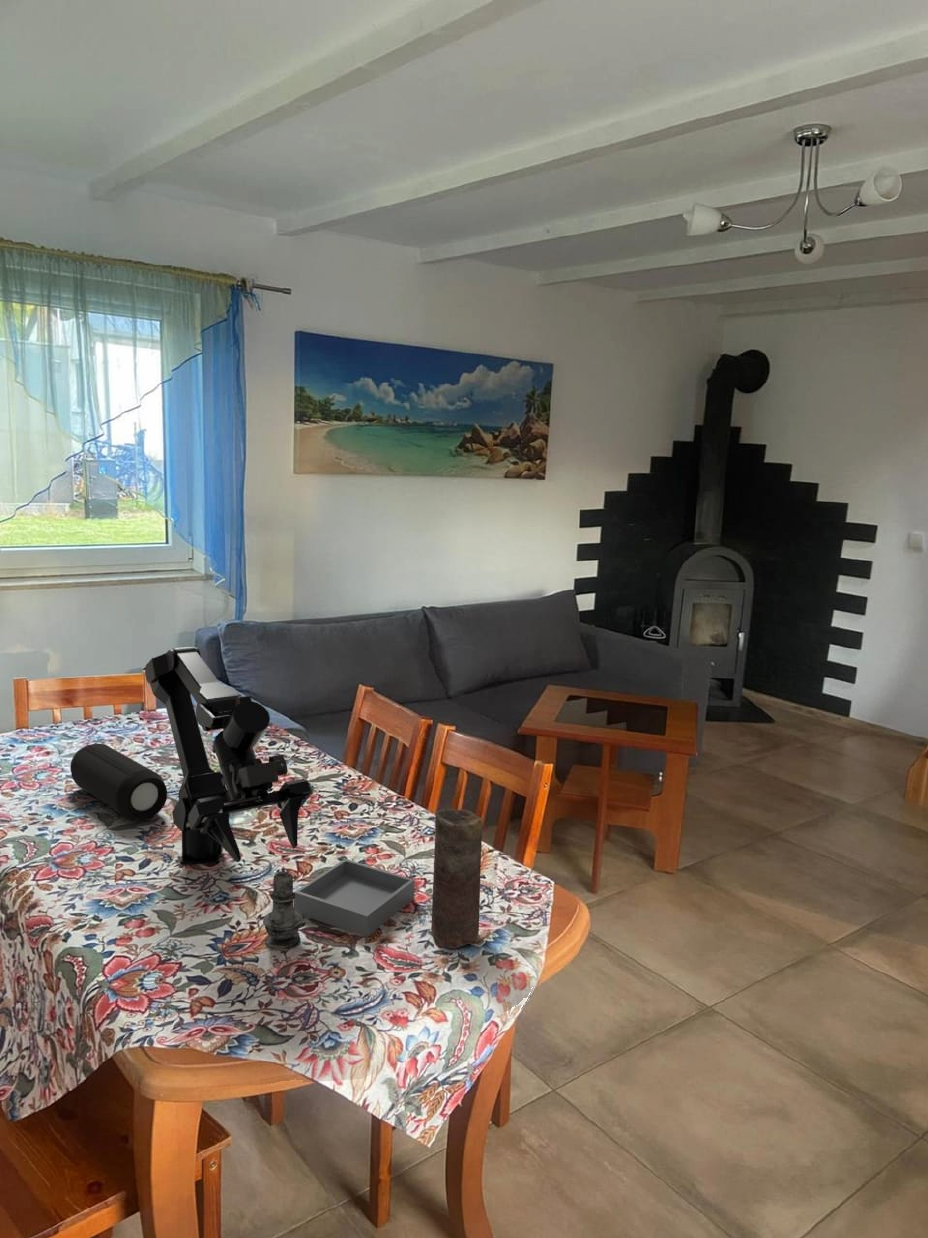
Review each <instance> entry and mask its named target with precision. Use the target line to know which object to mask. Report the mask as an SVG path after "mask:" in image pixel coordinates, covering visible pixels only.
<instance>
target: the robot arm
mask: <svg viewBox="0 0 928 1238" xmlns="http://www.w3.org/2000/svg"><path fill="white" fill-rule="evenodd" d="M200 652H201V651H200V650H199V648H198V647H194V646H184V647H182V646H181V647H173V648H172V649H169V650H168V651H166V652H165V653H162V654H160V655H158V656H156V657H152V658H151V659H150V660H149V661H148V662H147V663H146V665H145V668H144V674H145V675H144V676H145V681H146V682H147V684H149V686H150V689H151V692H152V694H153V696H154V697H156V698H157V699H158V700H159V701H160V703H163V705H164V706H165V709H166V713H167V717H168V721H169V725H170V729H171V733H172V737H173V741H174V743H175V744H174V745H175V748H176V753H177V756H178V761H179V764H180V768H181V772H182V775H183V780H182V783H181V785H180V788H179V791H178V794H177V795H178V800H177V803H176V804H175V806H174V808H173V809H172V812H171V813H172V814H171V815H172V820H173V824H174V825H175V826H176V828H177V829H179V831H180V832H181V857H180V859H179V863H180V864H197V863H198V864H201V863H202V864H204V863H205V864H210V863H211V864H212V863H213V864H214V863H218V862H219V859H220V856H221V855H222V854H223V851H224V850H225V851H226V852H227V853H228V854H229V856H230V857H231V858H232V859H233V860H234V861H235V862H236V863H240V862H241V860H242V856H241V851H240V849H239V846H238V843H237V841H236V838H235V836H234V835H235V834H234V833H233V830H232V827H231V824H230V817H231V816H230V815H231V814H234V813H239V812H243V811H249V810H253V809H259V808H264V807H268V806H272V805H277V807H278V808H279V809H281V811H280V812H279V813H278V815H279V817H280V820H281V823H282V825H283V829H284V831H285V833H286V836H287V839H288V842H289V843H290V846H291V847H292V849H296V848H297V847H298V836H299V835H298V834H299V833H298V830H299V814H300V809H301V807H303V806H304V805H305V803H306V802H307V800H308V799H309V798H310V797H311V796H312V794H313V793H314V790H313V788H312V784H311V782H309V781H308V780H307V779H306V778H300V779H294V780H289V781H285V782H283V784H282V785H281V787H280V788H279V790H277V791H272V792H271V791H270V792H268V790H271V788H272V787H273V783H277V782H279V781H280V780H279V779H280V778H279V777H281V776H285V775H287V774H288V771H289V770H288V764H287V761H286V758H285V756H284V754H277V755H273V756H270V757H268V761H267V762H263V761H262V760H261V757H260V758H257V755H256V753H255V750H254V747H256V746H257V744H258V743H259V742H260V739H261V738H262V736H263V734H264V733H265V732H266V730H267V728H268V727H269V724H270V719H271V716H270V713H269V710H267V709H266V708H265V707H264V706H263V705H262V704H260V703H258V702H256V701H252V698H251V695H244V696H243V695H242V694H240V693H239V691H237V690H236V689H235V688H234V687H231V686H229V685H224V684H222V683H221V682H220V681H219V680H218V678H217V677H216V675H215V674H214V673H213V672H212V670H211V669H210V667H209V666H208V665H207V664H206V662H205V660H203V658H202V657H201V653H200ZM192 697H193V699H194V701H195V703H196V707H195V706H194V704H193V699H192ZM200 726H201V728H202V729H203V730H204V732H207V733H208V732H213V731H219V733H217V734H216V736H215V738H214V740H213V742H212V749H211V751H212V754H216V757H217V761H218V765H219V768H220V769H221V771H215V770H214V769H212V768H211V767H210V764H209V759H208V756H207V752H206V749H205V744H204V741H203V737H202V734H201V730H200Z"/></svg>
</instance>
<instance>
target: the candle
mask: <svg viewBox="0 0 928 1238" xmlns="http://www.w3.org/2000/svg"><path fill="white" fill-rule="evenodd" d="M434 817H435V823H434V851H433V852H434V853H433V855H434V856H433V875H432V877H433V879H432V880H433V882H432V902H431V925H430V926H431V928H430V929H431V931H430V933H431V936H432V939H433V941H434V942H433V943H435V945H437V946H439V947H441V948H450V949H458V948H460V947H462V946H466V945H469V944H473V943H474V942H475V941H476V940H477V938H478V936H479V932H480V931H479V930H480V913H481V912H480V905H481V904H480V903H481V901H480V900H481V899H480V898H481V870H482V869H481V867H482V840H483V819H482V818H481V817H480V816H477V815H476V814H475V813H474V812H472V811H470V810H468V809H458V808H456V809H455V808H442V809H439V810H438V811H437V812H436V813H435V816H434Z"/></svg>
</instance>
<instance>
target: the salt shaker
mask: <svg viewBox="0 0 928 1238" xmlns="http://www.w3.org/2000/svg"><path fill="white" fill-rule="evenodd" d="M280 870H281V871H278V872H277V873H275V874H274V876H273V879H272V880H273V888H272V889H273V892H272V893H271V894H270V899H271V900H272V910H271V911H270V912H268V913H267V914H266V915H265V916H264V917H263V919H262V924H263V926H264V928H265V930H266V932H267V933H266V934H267V935H268V936H267V937H266V938H265V939H264V945H265V947H266V948H268V949H270V950H271V951H275V952H276V951H277V952H283V951H284V952H285V951H289V950H292V949H295V948H296V947H298V946H299V945H300V944H301V937H300V935H299V934H298V932H299V930H300V927H301V926H302V925H301V924H302V923H303V920H304V916H303V915H301V914H300V913H299V912H296V911H294V898H295V893H294V892H295V891H294V876H293V874H292V873H291V872H289V871H286V870H287V869H286V868H285V866H282V867H281V869H280Z"/></svg>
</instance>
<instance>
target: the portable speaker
mask: <svg viewBox="0 0 928 1238" xmlns="http://www.w3.org/2000/svg"><path fill="white" fill-rule="evenodd" d="M69 767H70V772H71V778H72V779H73V782H74V783H75V784H76V785H77V786H78V787H79V788H81V789H82V790H84V791H86V793H88V794H90V795H92V796H93V797H95V798H96V799H98V800H99V801H101V802H103V803H104V804H105V805H107V806H108V807H110V808H111V809H112V810H115V811H116V812H117V813H119V814H120V815H122V816H124V817H125V818H127V819H130V820H133V819H136V820H137V819H139V820H146V819H151V818H153V817H154V816H156V815H157V814H158V813H160V812H161V810H163V807H164V806H165V805H166V802H167V798H168V789H167V786H166V783H165V781H164V779H163V777H162V776H161V775H160V774H159V773H157V772H155V771H153V770H152V769H150V768H148V767H146V766H145V765H143V764H141V763H139V762H137V761H136V760H133V758H130V757H129V756H127V755H125V754H123V753H121V752H119V751H118V750H117V749H114V748H112V747H111V746H110V745H107V744H104V743H92V744H88V745H85V746H82V747H81V748H80V749H78V750H77V751H76V752H75V753H74V755H73V756H72V759H71V761H70V765H69ZM137 821H138V820H137Z"/></svg>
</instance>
